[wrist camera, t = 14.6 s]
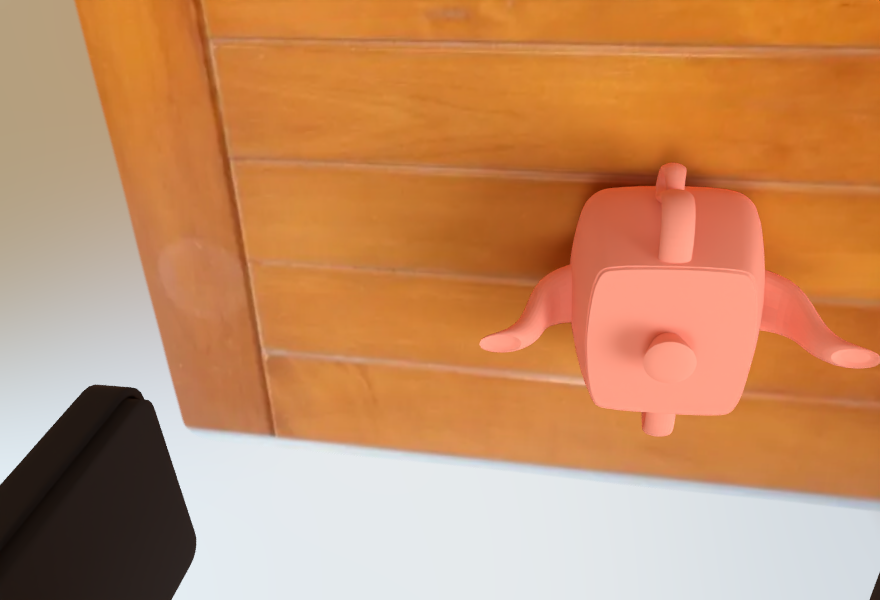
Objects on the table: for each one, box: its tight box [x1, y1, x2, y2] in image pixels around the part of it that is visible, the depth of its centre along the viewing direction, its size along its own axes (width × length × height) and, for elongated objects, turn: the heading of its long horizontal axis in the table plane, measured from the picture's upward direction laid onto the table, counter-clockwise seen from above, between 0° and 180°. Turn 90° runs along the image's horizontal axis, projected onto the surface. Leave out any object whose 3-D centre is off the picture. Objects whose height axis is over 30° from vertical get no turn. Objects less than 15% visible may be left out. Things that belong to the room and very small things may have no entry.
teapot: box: [480, 163, 880, 436], centre depth 49 cm, size 15×17×13 cm
